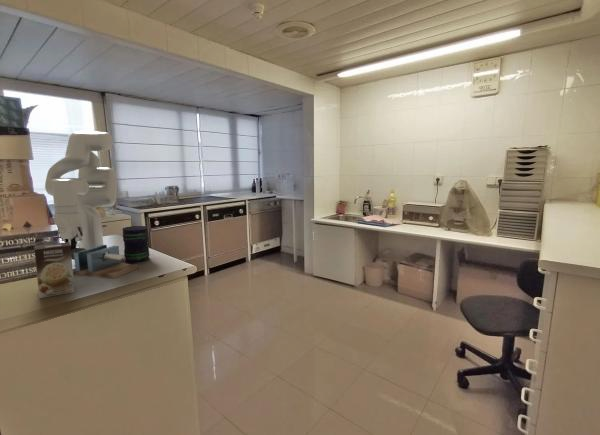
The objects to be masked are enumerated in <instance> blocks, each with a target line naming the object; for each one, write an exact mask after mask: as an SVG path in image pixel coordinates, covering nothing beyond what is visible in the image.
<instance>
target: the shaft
mask: <svg viewBox="0 0 600 435" xmlns="http://www.w3.org/2000/svg"><path fill="white" fill-rule="evenodd" d="M81 250H85V249H84V248H79V247H76V248H74V249H73V250H72V251H71V256H72V261H75V260H74V252H78V251H81ZM90 253H91V252H90ZM102 256H103V259H104V260H114V261H120V262H123V261H125V257H124V255H123V254H119V255H117V254H105V253H103V254H102Z"/></svg>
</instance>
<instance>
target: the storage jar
mask: <svg viewBox="0 0 600 435" xmlns="http://www.w3.org/2000/svg"><path fill="white" fill-rule="evenodd" d="M122 238H123V239H122V241H123V243H124V250H123V253H124V255H123V256H124V264H135V265H138V264H142V262H143V263H146V262H148V261H149V260H150V248H149V232H148V227H147V226H146V225H132V226H126V227H123V228H122Z"/></svg>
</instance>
